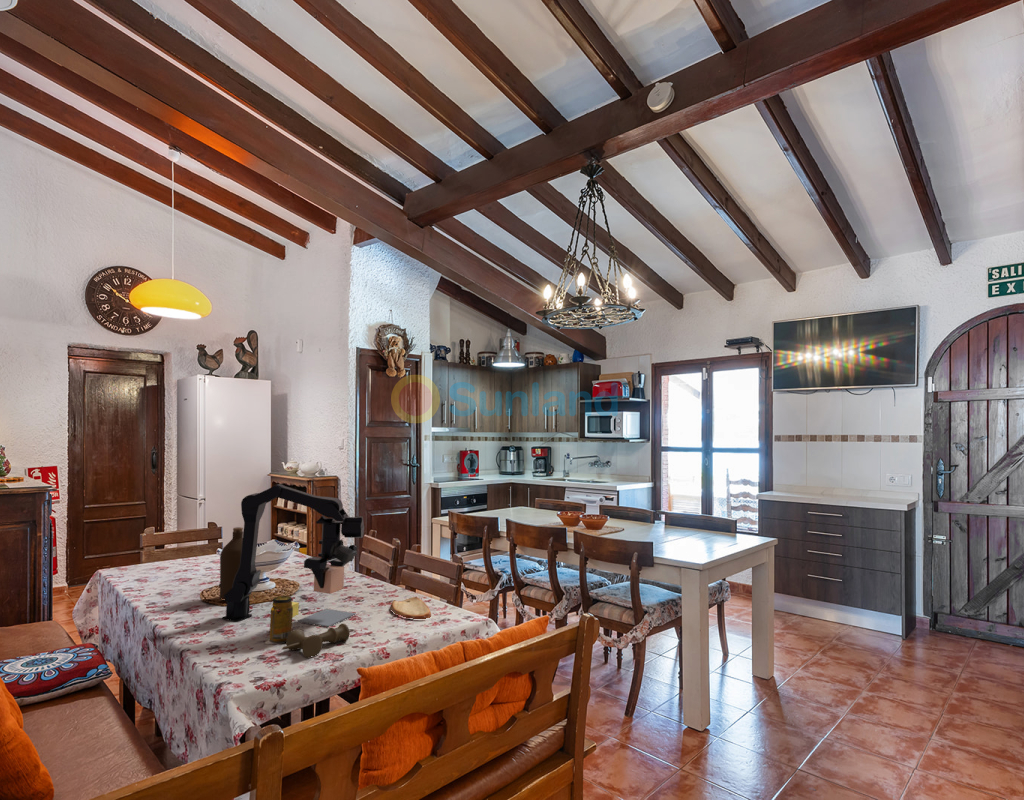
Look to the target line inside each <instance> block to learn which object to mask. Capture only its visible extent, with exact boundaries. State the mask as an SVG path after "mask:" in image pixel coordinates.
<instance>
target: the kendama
mask: <svg viewBox="0 0 1024 800" xmlns="http://www.w3.org/2000/svg"><path fill="white" fill-rule="evenodd" d="M349 637H350V629H349V627H348V625H347V624H346V623H340V624H339V625H338V627H336V628H335V627H329V628H328V629H327V630H326V631H325V632H323V633H322V634H311V635H310V636H309V635H308V636H306V635H305V632H304V631H303V630H302V629H300V628H299V629H294V630H292V632H291V633H289V635H288V637H287V641H286V643H285V644H286V646H285V645H284V646H283V647H282V650H290V651H297V650H302V654H303V656H304V658H307V657H311V656H314V657H316V656H315V655H317V654H318V655H319V654H320V653H321V651H322V648H323V643H329V644H335V643H337V642H338V641H341V642H344V641H345V642H347V641H348V640H349ZM318 655H317V656H318ZM311 658H312V657H311Z"/></svg>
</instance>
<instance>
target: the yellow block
mask: <svg viewBox="0 0 1024 800" xmlns="http://www.w3.org/2000/svg"><path fill="white" fill-rule="evenodd" d="M299 605H300V602H297V601H292V606H293V617H292V618H295V617H297V616H298V615H299V608H300V607H299ZM296 615H297V616H296Z"/></svg>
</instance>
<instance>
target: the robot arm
mask: <svg viewBox="0 0 1024 800" xmlns="http://www.w3.org/2000/svg"><path fill="white" fill-rule="evenodd" d="M277 498H279V499H281V500H285V501H288V502H291V503H294V504H298V505H301V506H304V507H308V508H311V509H312V510H314V511H315V512H317V513H318V514H321V516H320V518H319V519H318V520H316V521H315V523H316V524H318V525H320V524H321V525H322V529H321V540H319V541H318V545H321V546H320V547H321V548H320V549H321V550H320V552H318V553H317V555H318V556H311V557H308V558H305V560H304V561H303V569H308V570H311V572H312V574H313V575H314V576H315V578H316V580H317V582H318V584H319V586H320V588H324V582H325V573H326V571H327V570H328V569H329V567H326V565H328V563H330V565H334V566H342V567H344V568H345V566H346V565H347V564H349V563H351V562H353V560H354V559H355V557H357V555H358V553H357V552H358V547H357V545H355V544H351V545H349V546H348V545H347V546H346V545H344V541H343V539H341V535H342V536H343V537H344V538H349V539H350V538H353V539H354V538H356V539H357V538H358V539H359V538H361V539H362V538H363V537H364V534H365V525H364V524H365V523H364V516H349V515H348V513H347V512H346V510H345V509H344V505H343V502H342V500H341V499H340V498H337V497H331V496H320V495H315V494H312V493H308V492H304V491H302V490H298V489H295V488H293V487H289V486H285V485H284V484H282V483H278V484H274V485H272V486H271V487H270V488H268V489H265V490H262V491H261V492H259V493H257V492H256V493H252V494H249V495H246V496H244V497H243V498H242V500H241V502H240V506H241V507H240V508H241V510H240V511H241V515H242V519H243V523H244V524H243V540H242V549H241V559H240V566H239V569H238V571H237V573H236V575H235V578H234V582H233V585H232V589H230V590H229V591H228V592H227V593H226V594H225V595H224V598H225V601H226V610H225V612H226V613H225V616H222V617H221V618H222V620H226V621H232V622H240V621H242V620H245V619H248V618H250V617H253V614H252V613H250V605H251V604H250V595H251V594H252V591H253V590H255V589H256V588H257V586H258V584H259V583H260V582H261V579H260V575H261V573H262V570H261V569H257V566H256V555H257V547H258V540H259V539H258V538H259V537H258V536H259V528H260V527H259V526H260V522H261V519H262V517H263V514H264V512H265V509H266V505H267V504H268V503H269V502H271V501H273V500H275V499H277ZM314 576H313V577H314ZM248 595H249V596H248ZM225 601H224V602H225Z"/></svg>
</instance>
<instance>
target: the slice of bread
mask: <svg viewBox="0 0 1024 800" xmlns="http://www.w3.org/2000/svg"><path fill="white" fill-rule="evenodd" d="M389 608H390V609H391V610H392V611H393V612H394V613H395V614H398V615H401V616H403V617H406V618H413V619H426V618H430V617H431V616H432V613H431V609H430V607H429V606H428V605H427V604H426V602H424V601H423V600H422V599H420V597H418V596H413V597H409V598H405V599H404V600H402V601H401V600H399V601H397V600H392V602H391V603H390V607H389ZM391 610H390V611H391Z"/></svg>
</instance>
